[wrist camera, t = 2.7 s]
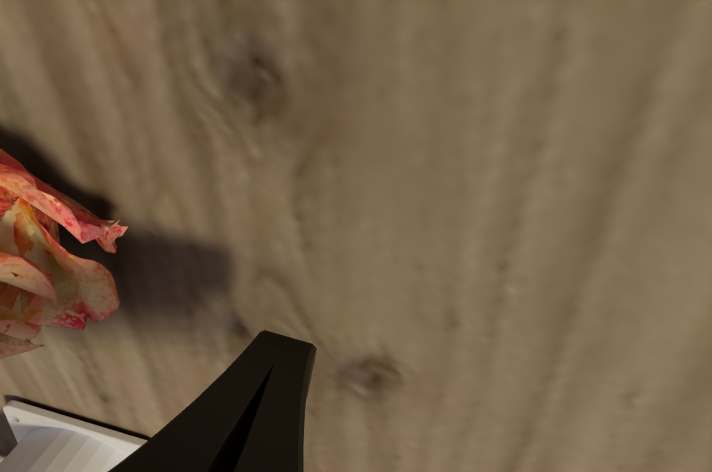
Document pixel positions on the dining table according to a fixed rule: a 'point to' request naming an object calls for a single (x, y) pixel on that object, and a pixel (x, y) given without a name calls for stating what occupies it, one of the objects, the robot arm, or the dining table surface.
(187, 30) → the dining table surface
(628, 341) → the dining table surface
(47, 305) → the flower
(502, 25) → the dining table surface
